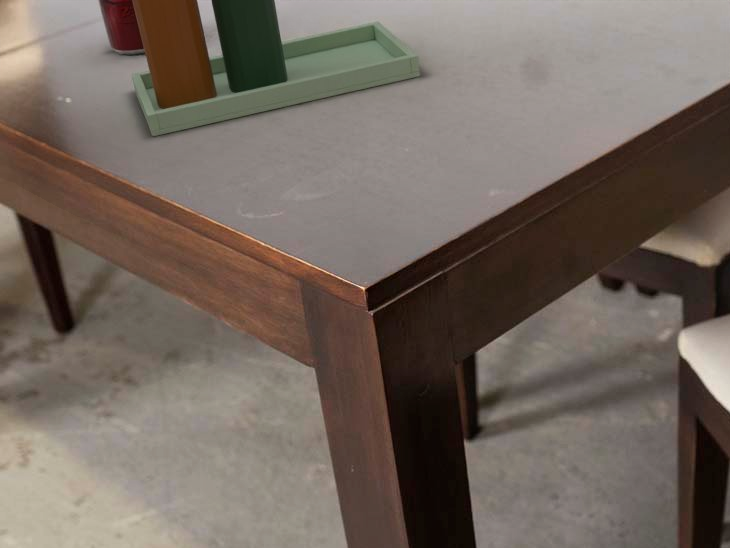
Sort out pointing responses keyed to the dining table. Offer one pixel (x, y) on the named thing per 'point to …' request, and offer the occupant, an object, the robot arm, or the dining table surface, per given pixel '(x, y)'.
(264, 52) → the green bottle
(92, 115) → the dining table surface
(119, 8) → the soda can
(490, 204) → the dining table surface
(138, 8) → the amber bottle
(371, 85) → the tray
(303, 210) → the dining table surface
